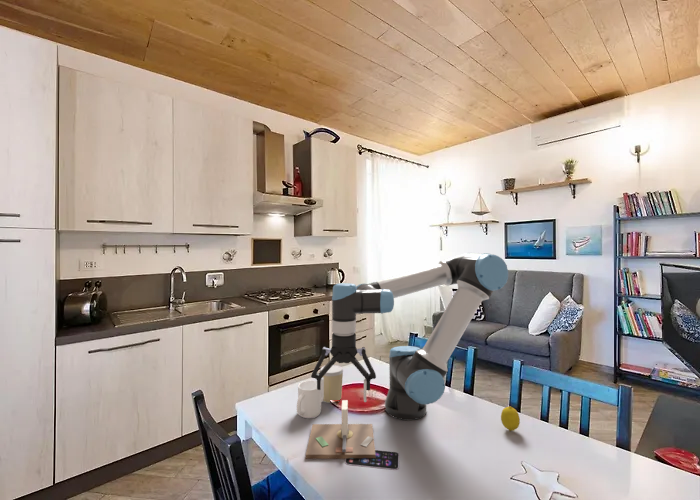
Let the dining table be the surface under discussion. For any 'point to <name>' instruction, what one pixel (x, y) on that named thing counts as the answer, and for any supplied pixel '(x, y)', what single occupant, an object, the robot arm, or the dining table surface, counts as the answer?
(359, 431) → the board
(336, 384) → the coffee cup
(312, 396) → the mug
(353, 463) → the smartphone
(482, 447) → the dining table surface
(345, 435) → the beige flat block
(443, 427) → the dining table surface
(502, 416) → the lemon
